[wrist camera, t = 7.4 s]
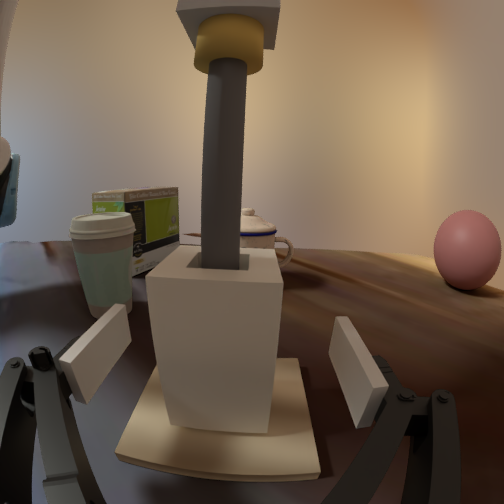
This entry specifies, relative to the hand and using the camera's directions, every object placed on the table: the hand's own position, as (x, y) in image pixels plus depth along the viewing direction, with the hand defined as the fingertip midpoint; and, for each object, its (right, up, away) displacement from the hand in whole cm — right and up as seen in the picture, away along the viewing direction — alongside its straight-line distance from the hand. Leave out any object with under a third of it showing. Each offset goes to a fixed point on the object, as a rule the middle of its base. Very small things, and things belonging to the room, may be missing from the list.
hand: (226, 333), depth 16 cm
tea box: (-21, +2, +35) cm, 41 cm away
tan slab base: (-1, -7, +1) cm, 7 cm away
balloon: (+45, -3, +26) cm, 52 cm away
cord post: (-1, -7, +1) cm, 7 cm away
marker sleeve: (-1, -5, +1) cm, 5 cm away
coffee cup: (-17, -3, +15) cm, 23 cm away
